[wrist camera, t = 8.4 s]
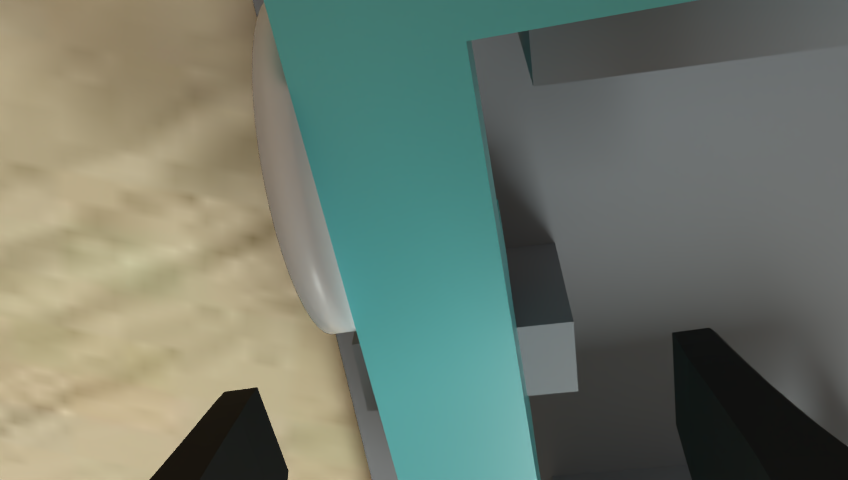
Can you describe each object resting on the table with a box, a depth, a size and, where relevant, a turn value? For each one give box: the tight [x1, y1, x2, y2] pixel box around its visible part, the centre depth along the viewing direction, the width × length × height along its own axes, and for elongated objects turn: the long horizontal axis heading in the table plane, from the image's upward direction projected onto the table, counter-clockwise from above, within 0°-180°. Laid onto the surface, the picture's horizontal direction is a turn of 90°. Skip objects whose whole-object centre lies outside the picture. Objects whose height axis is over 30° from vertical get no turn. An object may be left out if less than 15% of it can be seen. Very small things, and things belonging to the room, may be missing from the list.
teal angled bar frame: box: [252, 0, 697, 480], centre depth 13 cm, size 10×16×5 cm, turn 11°
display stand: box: [253, 0, 848, 480], centre depth 15 cm, size 13×20×6 cm, turn 8°
